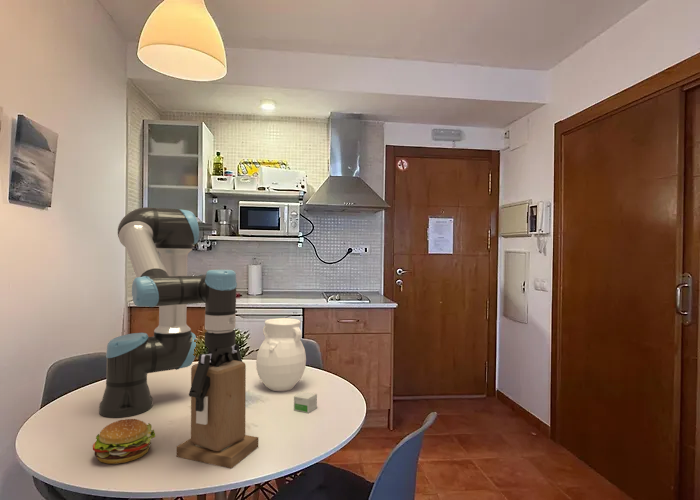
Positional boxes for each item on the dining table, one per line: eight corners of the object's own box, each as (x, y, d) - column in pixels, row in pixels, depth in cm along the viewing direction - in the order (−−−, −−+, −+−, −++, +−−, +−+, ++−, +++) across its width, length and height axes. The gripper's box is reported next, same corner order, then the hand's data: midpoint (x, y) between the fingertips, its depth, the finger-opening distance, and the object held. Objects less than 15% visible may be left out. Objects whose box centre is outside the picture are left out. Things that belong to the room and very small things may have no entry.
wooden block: (217, 453, 104) (217, 370, 104) (189, 444, 109) (189, 364, 109) (246, 438, 113) (247, 361, 113) (219, 429, 118) (220, 356, 118)
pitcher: (315, 385, 166) (316, 319, 166) (283, 398, 151) (284, 326, 151) (278, 376, 176) (279, 315, 176) (245, 388, 161) (246, 321, 161)
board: (176, 456, 108) (176, 446, 108) (207, 437, 120) (207, 427, 119) (231, 468, 103) (231, 457, 103) (258, 446, 114) (258, 436, 114)
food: (149, 464, 104) (150, 431, 104) (84, 469, 101) (85, 435, 101) (161, 439, 118) (162, 410, 118) (104, 443, 115) (105, 413, 115)
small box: (293, 410, 140) (293, 395, 140) (302, 405, 145) (302, 390, 145) (308, 413, 138) (308, 398, 138) (317, 408, 143) (317, 393, 143)
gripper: (200, 341, 98) (199, 435, 98) (258, 323, 122) (257, 399, 122) (173, 338, 101) (172, 430, 101) (235, 321, 124) (234, 396, 124)
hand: (219, 413), depth 111 cm, fingers open, 13 cm apart
